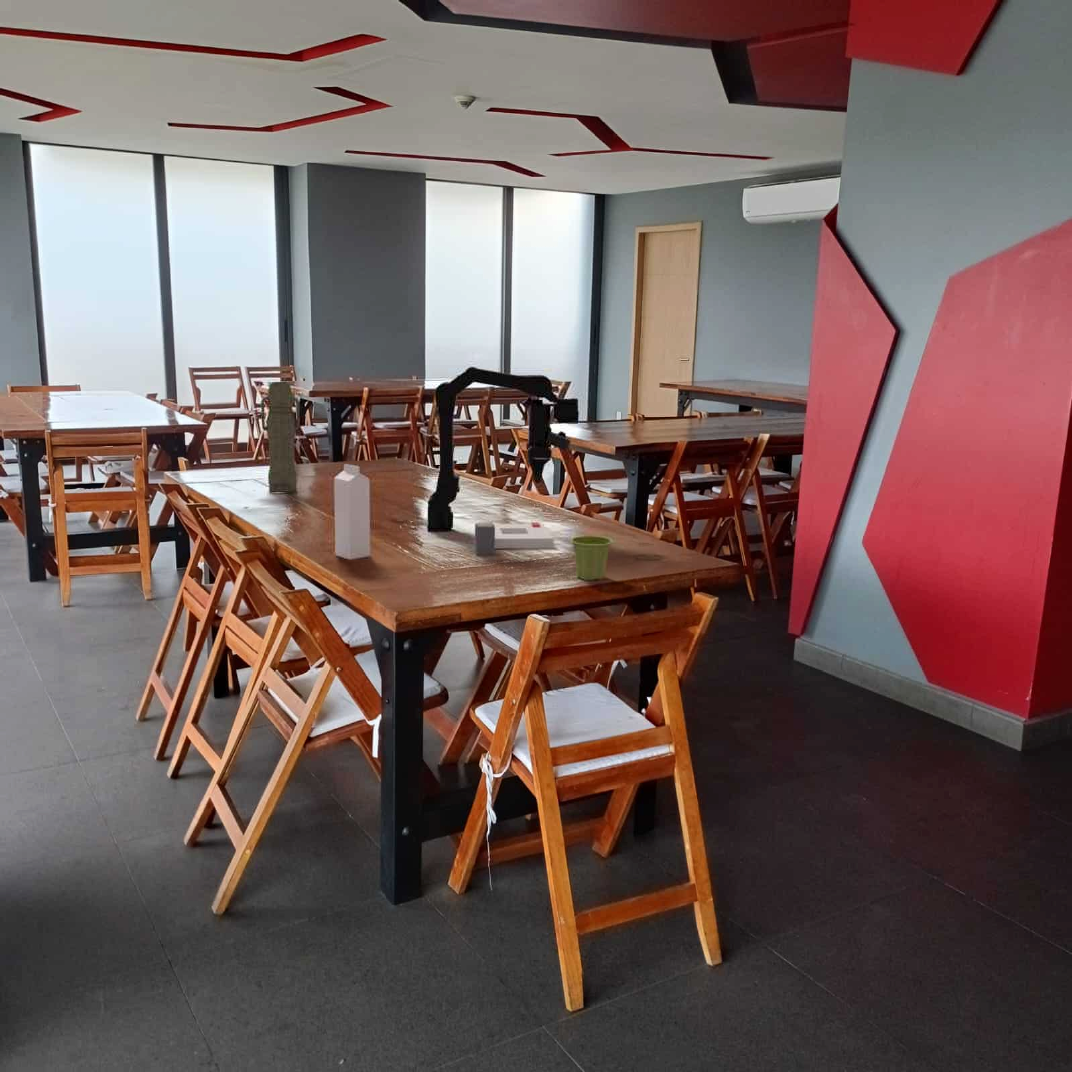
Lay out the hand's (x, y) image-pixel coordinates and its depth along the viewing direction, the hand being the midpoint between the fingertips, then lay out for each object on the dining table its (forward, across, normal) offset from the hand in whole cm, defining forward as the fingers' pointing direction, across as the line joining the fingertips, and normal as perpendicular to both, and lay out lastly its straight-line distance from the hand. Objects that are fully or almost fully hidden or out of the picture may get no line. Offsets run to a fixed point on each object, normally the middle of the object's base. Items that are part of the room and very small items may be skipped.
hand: (537, 480), depth 268 cm
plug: (+14, -27, +13) cm, 33 cm away
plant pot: (+14, -48, -11) cm, 52 cm away
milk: (+15, -32, +45) cm, 57 cm away
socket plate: (+14, -12, +6) cm, 20 cm away
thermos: (+15, +54, +80) cm, 98 cm away
